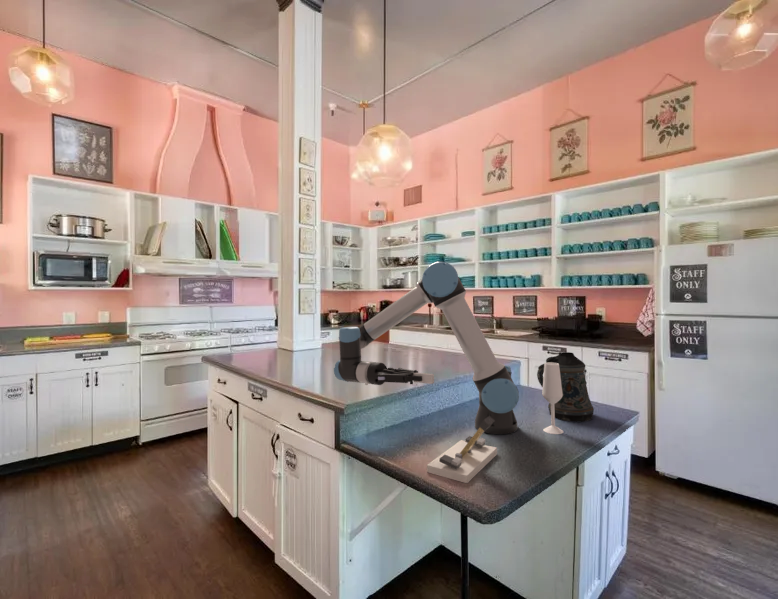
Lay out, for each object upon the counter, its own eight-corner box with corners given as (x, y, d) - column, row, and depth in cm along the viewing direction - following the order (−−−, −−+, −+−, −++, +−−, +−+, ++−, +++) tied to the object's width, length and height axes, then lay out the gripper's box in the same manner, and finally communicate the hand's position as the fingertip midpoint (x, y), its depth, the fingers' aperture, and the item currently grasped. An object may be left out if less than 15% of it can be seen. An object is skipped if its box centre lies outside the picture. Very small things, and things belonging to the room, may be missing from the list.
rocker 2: (469, 438, 123) (470, 433, 123) (484, 445, 120) (485, 439, 120) (465, 441, 120) (466, 436, 120) (480, 448, 117) (481, 442, 117)
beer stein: (603, 419, 148) (602, 354, 148) (560, 425, 143) (558, 357, 143) (573, 407, 164) (572, 349, 164) (533, 412, 159) (532, 351, 159)
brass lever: (463, 449, 116) (489, 415, 111) (468, 454, 115) (494, 420, 110) (456, 454, 112) (483, 419, 107) (461, 459, 111) (489, 425, 106)
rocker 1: (444, 457, 109) (445, 451, 109) (461, 465, 106) (462, 459, 106) (439, 461, 107) (440, 455, 106) (456, 469, 104) (457, 463, 103)
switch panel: (461, 446, 126) (460, 435, 126) (497, 454, 119) (496, 442, 119) (427, 472, 108) (426, 459, 108) (467, 483, 101) (466, 469, 101)
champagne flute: (551, 435, 133) (549, 365, 133) (539, 428, 140) (537, 362, 140) (567, 432, 135) (566, 364, 135) (554, 426, 142) (553, 361, 141)
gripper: (384, 380, 138) (443, 386, 124) (360, 388, 127) (422, 396, 113) (383, 359, 138) (442, 363, 124) (359, 365, 127) (421, 370, 113)
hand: (432, 378), depth 119 cm, fingers closed
